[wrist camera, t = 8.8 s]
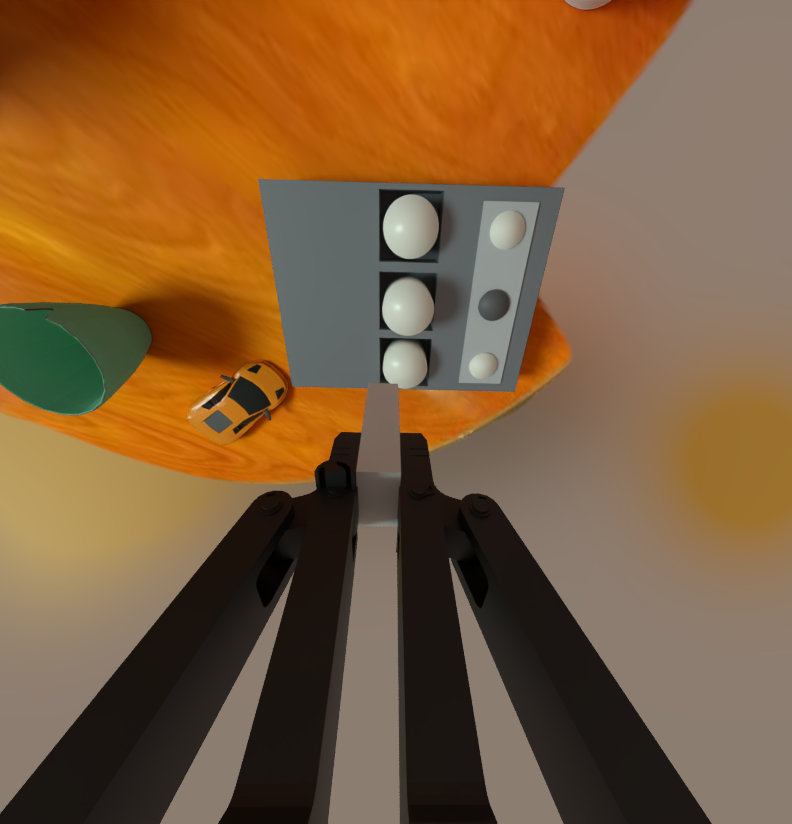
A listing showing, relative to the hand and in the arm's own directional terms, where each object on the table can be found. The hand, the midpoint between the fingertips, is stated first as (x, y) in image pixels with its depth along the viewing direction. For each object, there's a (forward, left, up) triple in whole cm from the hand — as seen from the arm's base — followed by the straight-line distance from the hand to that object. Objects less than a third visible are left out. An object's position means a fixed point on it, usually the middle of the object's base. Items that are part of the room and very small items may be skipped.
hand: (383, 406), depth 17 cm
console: (+2, +2, -20) cm, 20 cm away
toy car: (-19, -11, -21) cm, 30 cm away
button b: (+2, +2, -17) cm, 17 cm away
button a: (+2, -4, -18) cm, 19 cm away
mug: (-31, -3, -20) cm, 37 cm away
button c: (+2, +8, -18) cm, 20 cm away
